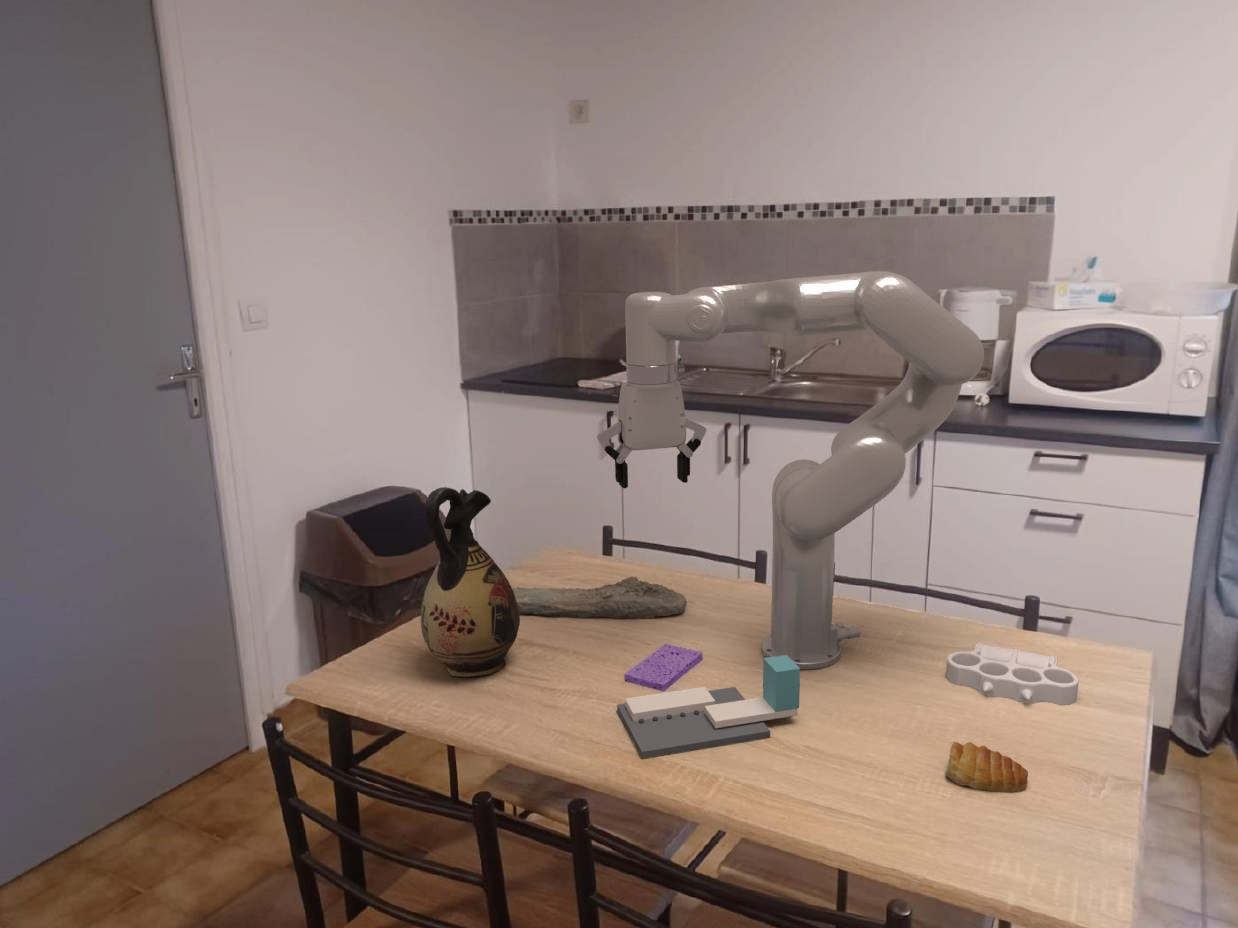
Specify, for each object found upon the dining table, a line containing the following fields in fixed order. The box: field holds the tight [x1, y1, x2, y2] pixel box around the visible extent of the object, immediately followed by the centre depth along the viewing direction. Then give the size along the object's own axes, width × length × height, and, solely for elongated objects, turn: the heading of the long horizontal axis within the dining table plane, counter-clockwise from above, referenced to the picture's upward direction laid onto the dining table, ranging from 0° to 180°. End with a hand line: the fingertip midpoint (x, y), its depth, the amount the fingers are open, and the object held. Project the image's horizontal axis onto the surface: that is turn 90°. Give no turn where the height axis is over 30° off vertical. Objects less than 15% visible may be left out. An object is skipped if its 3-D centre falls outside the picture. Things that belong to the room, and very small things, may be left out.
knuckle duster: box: [945, 642, 1080, 706], centre depth 139 cm, size 3×18×15 cm
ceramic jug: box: [420, 486, 521, 678], centre depth 145 cm, size 17×15×30 cm
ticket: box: [624, 686, 715, 724], centre depth 132 cm, size 12×5×1 cm, turn 104°
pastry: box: [944, 741, 1029, 793], centre depth 115 cm, size 9×7×4 cm
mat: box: [616, 686, 771, 760], centre depth 130 cm, size 18×13×1 cm
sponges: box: [623, 642, 704, 693], centre depth 146 cm, size 7×13×2 cm, turn 147°
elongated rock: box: [512, 576, 688, 619], centre depth 170 cm, size 35×5×10 cm
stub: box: [704, 655, 801, 728], centre depth 129 cm, size 12×4×7 cm, turn 104°
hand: (653, 483), depth 146 cm, fingers open, 9 cm apart
